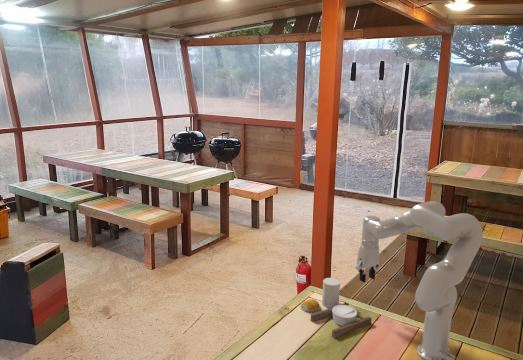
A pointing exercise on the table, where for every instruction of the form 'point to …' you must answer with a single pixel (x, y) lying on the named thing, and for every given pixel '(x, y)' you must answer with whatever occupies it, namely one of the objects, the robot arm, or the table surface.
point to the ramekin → (344, 314)
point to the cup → (330, 292)
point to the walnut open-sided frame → (342, 329)
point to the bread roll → (310, 305)
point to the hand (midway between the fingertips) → (367, 279)
